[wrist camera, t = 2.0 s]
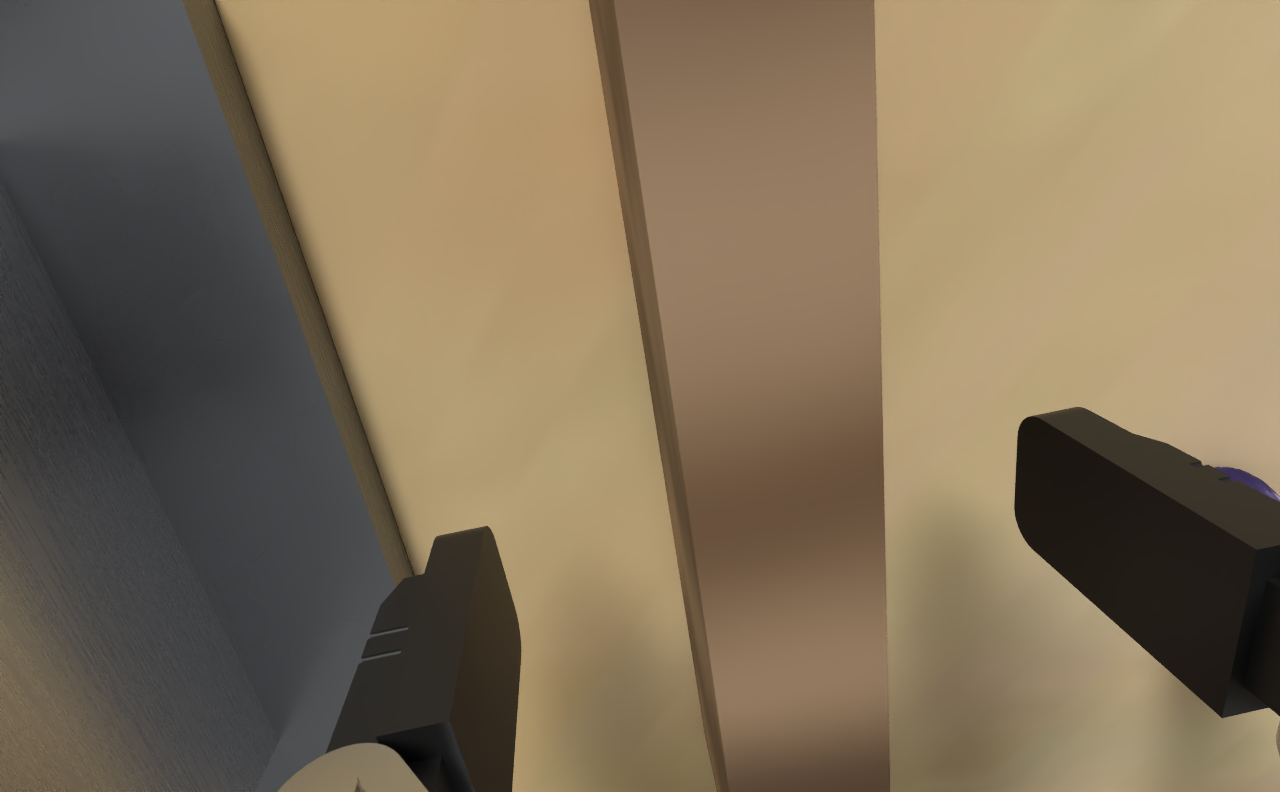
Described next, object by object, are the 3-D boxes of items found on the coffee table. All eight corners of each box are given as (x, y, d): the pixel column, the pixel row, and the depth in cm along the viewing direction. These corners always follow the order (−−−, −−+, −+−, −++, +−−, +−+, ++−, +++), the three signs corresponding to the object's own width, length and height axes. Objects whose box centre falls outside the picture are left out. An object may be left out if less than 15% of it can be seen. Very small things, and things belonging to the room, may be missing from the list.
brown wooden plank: (554, -215, 12) (537, -515, 6) (726, -241, 12) (863, -560, 6) (703, 729, 20) (753, 960, 15) (804, 709, 20) (893, 932, 15)
